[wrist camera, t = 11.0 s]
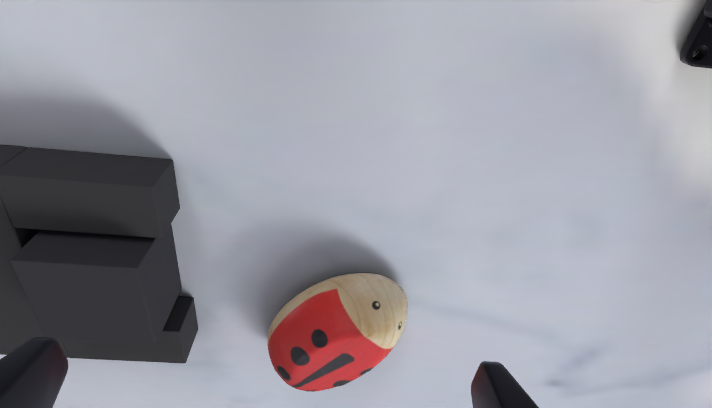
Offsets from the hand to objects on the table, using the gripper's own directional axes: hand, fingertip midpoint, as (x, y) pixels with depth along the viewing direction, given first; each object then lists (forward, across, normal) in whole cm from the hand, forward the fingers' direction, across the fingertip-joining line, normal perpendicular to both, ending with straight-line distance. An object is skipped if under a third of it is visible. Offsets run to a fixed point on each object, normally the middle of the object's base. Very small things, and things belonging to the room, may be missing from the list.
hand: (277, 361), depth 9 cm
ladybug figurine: (+12, -2, +12) cm, 17 cm away
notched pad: (+12, +12, +8) cm, 19 cm away
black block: (+12, +10, +8) cm, 17 cm away
